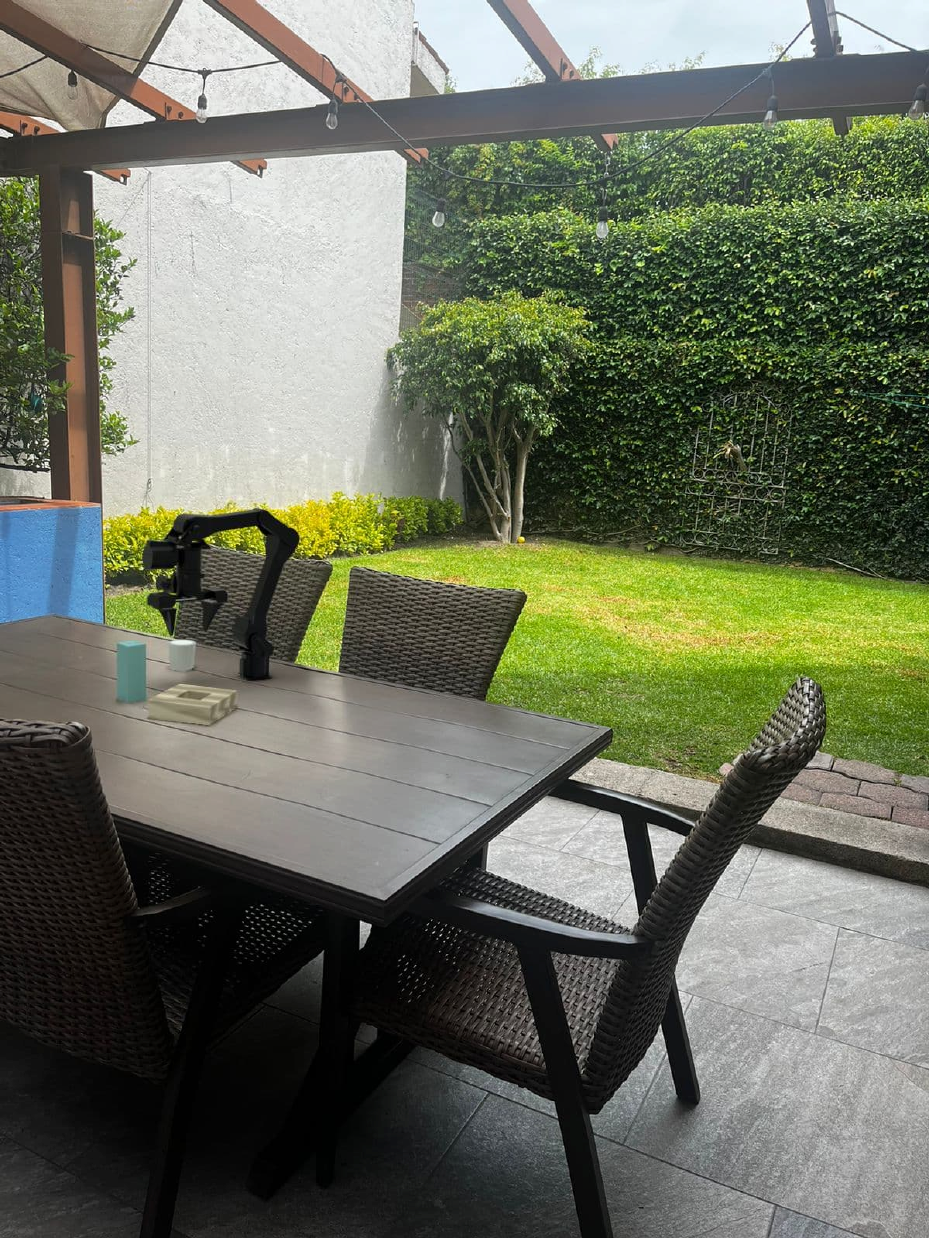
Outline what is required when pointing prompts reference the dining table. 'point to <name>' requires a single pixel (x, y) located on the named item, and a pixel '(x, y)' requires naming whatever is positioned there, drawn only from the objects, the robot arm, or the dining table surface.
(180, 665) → the white short cylinder
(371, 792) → the dining table surface
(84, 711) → the dining table surface
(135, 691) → the peg
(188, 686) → the pocket block
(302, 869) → the dining table surface
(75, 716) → the dining table surface
